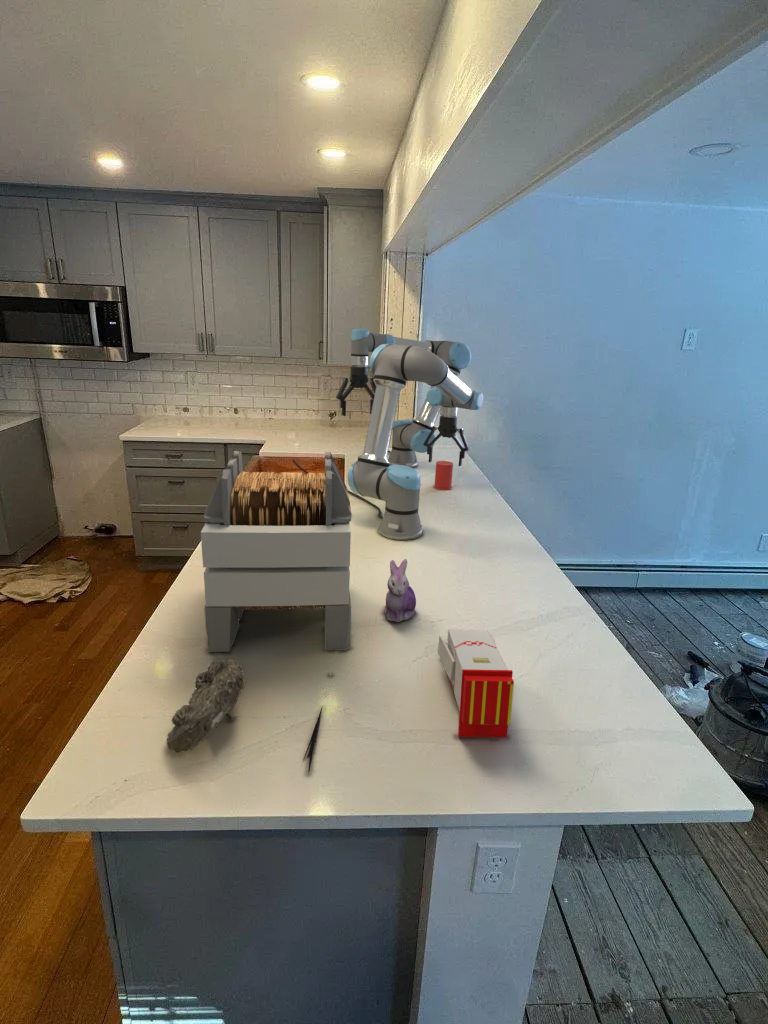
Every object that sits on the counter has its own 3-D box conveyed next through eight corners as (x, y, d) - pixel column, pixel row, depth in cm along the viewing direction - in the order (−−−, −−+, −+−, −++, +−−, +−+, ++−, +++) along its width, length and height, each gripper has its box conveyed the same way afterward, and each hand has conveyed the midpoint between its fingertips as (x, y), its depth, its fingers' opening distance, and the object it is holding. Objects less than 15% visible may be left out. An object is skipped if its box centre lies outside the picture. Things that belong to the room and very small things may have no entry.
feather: (331, 679, 122) (336, 673, 122) (307, 777, 96) (313, 769, 95) (324, 675, 122) (329, 669, 121) (298, 772, 95) (304, 764, 95)
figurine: (392, 627, 141) (395, 572, 136) (374, 608, 149) (376, 556, 144) (425, 619, 145) (429, 566, 140) (405, 601, 154) (408, 550, 149)
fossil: (192, 660, 117) (244, 628, 112) (224, 691, 120) (276, 661, 115) (142, 746, 98) (202, 712, 93) (182, 779, 101) (242, 748, 96)
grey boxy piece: (227, 584, 158) (219, 441, 145) (344, 583, 162) (347, 443, 148) (205, 654, 127) (191, 480, 113) (351, 650, 130) (355, 481, 117)
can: (434, 489, 251) (436, 464, 247) (433, 484, 258) (435, 460, 254) (451, 490, 251) (454, 465, 247) (450, 485, 258) (452, 461, 254)
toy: (488, 613, 130) (523, 677, 101) (484, 667, 133) (517, 744, 104) (435, 612, 130) (455, 676, 101) (432, 666, 133) (451, 743, 103)
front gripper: (479, 417, 243) (474, 465, 250) (423, 411, 251) (420, 458, 258) (475, 420, 236) (470, 469, 244) (418, 414, 244) (415, 462, 252)
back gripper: (335, 367, 237) (334, 417, 244) (389, 366, 248) (386, 415, 255) (329, 365, 243) (328, 414, 251) (381, 365, 254) (379, 412, 261)
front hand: (444, 463), depth 251 cm, fingers open, 13 cm apart
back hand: (358, 415), depth 253 cm, fingers open, 13 cm apart
